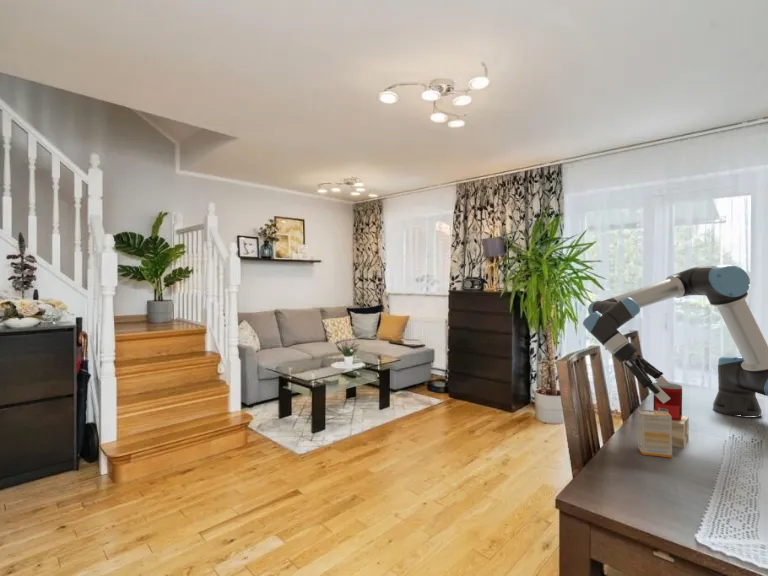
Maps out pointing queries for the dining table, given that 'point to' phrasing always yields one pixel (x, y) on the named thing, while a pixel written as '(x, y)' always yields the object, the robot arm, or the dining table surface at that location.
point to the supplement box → (655, 433)
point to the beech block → (680, 432)
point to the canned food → (674, 403)
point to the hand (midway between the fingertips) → (670, 396)
